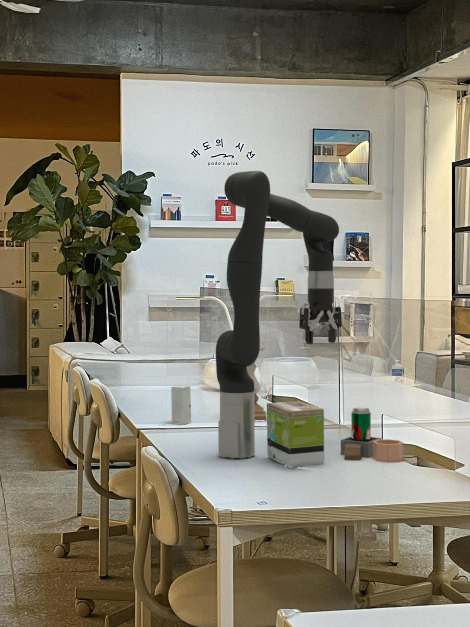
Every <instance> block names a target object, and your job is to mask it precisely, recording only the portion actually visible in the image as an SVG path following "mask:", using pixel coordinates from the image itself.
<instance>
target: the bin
mask: <svg viewBox="0 0 470 627" xmlns="http://www.w3.org/2000/svg"><path fill="white" fill-rule="evenodd" d="M376 440H382V437H374V436H371V441H369V442H361V441H352V435H351V436H348V437H344V438H343V439H342V438H341V439H340V455H341V456H344V447H345V445H346V444H357V445H361V458H365V459H367V458H368V459H370V458H371V457H372V458H373V441H376Z"/></svg>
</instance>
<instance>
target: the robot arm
mask: <svg viewBox="0 0 470 627" xmlns="http://www.w3.org/2000/svg"><path fill="white" fill-rule="evenodd" d="M270 183H271V182H270V179H269V177H268V175H267V174H266V173H265V172H263V171H261V170H249V171H238V172H234V173H232V174H230V175H229V176H228V177H227V178H226V180H225V183H224V187H223V188H224V190H223V191H224V195H225V197H226V199H227V201H228V202H229V203H230V204H232V205H233V206H235V207H239V208H243V209H244V214H243V215H244V216H243V221H242V225H241V228H240V231H239V232H238V234H237V236H236V237H235V239H234V241H233V243H232V244H231V247H230V249H229V253H228V255H227V262H226V265H227V266H226V284H227V289H228V293H229V296H230V300H231V303H232V306H233V328H232V329H230V330H226V331H223V332H222V333H221V334H220V335H219V336H218V338H217V341H216V346H215V368H216V370H215V371H216V380H217V382H218V385H219V421H218V432H217V433H218V435H217V436H218V437H217V438H218V440H217V441H218V442H217V444H218V457H219V456H223V457H222V458H225V457H230V458H229V459H234V458H240V459H247V458H246V457H248V458H251V457H252V456H253V457H254V456H255V454H256V452H255V451H256V446H255V445H256V444H255V443H256V434H255V430H256V429H255V427H256V425H255V424H256V422H255V405H254V402H255V394H254V390H255V388H254V381H253V379H252V378H251V377H250V376H249V374H248V372H247V366H250V365H252V364H253V363H254V362H255V363H256V361H257V359H258V357H259V354H260V351H259V350H260V347H261V346H260V345H261V333H260V304H261V303H260V301H261V284H262V273H263V255H264V254H263V252H264V240H265V229H266V222H267V217H269V218H270V219H272V220H275V221H278V222H279V223H281V224H283V225H285V226H286V227H289V228H291V229H292V230H294V231H297V232H299V233H302V238H303V242H304V245H305V249H306V253H307V257H308V272H307V274H308V275H307V303H308V305H309V306H308V307H300V308H299V322H298V323H299V325H298V326H299V329H302V330H304V337H305V338H304V341H305V344H306V345H313V344H314V328H315V327H316V326H317V325H318V323H324V324H325V325H327V328H328V331H327V332H328V335H327V336H328V337H327V339H328V340H327V341H328V343H330V344H333V343H336V339H337V330H338V328H342V326H343V323H342V308H341V306H333V304H334V302H335V278H334V256H333V252H332V251H329V250H327V249H324V247H323V245H322V243H324V242H325V243H327V242H328V243H329V242H332V241H334V240H335V239H337V238H338V235H339V233H340V227H339V224H338V222H337V221H336V219H335V218H334V217H332V216H330V215H328V214H325V213H322V212H320V211H315V210H311V209H309V208H308V207H306V206H305V205H303V204H301V203H299V202H297V201H296V200H292V199H290V198H286V197H283V196H281V195H278V194H277V195H276V194H273V193H271V184H270Z"/></svg>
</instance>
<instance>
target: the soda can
mask: <svg viewBox="0 0 470 627" xmlns="http://www.w3.org/2000/svg"><path fill="white" fill-rule="evenodd" d="M350 413H351V414H350V415H351V418H350V419H351V421H350V422H351V430H350V431H351V436H352V441H361V442H369V441H371V437H372V434H371V433H372V428H371V427H372V426H371V425H372V423H371V422H372V421H371V420H372V419H371V418H372V417H371V416H372V415H371V414H372V412H371V411H370V408H368V407H354V408H352V411H351V412H350Z"/></svg>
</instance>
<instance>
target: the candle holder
mask: <svg viewBox="0 0 470 627" xmlns="http://www.w3.org/2000/svg"><path fill="white" fill-rule="evenodd" d="M263 351H265V347H264V346H260V350H259V352H263ZM257 367H258V365H257V364H256V361H255V362H254V363H253V364H252V365H250V366H247V372H248V374H249V376H250V377H251V378H252V379H253V381H254V388H255V390H254V394H255V402H254V405H255V420H266V421H267V411H266V410H265V409H264V407H263V406H261V405H260V404H259V403H257V402H258V401H259V399H260V398H259V396H258V395H257V394H258V393H259V392H260V390H261V384H260V382H259V381H258V379H257V377H256V375H255V372H256V369H257Z"/></svg>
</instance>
